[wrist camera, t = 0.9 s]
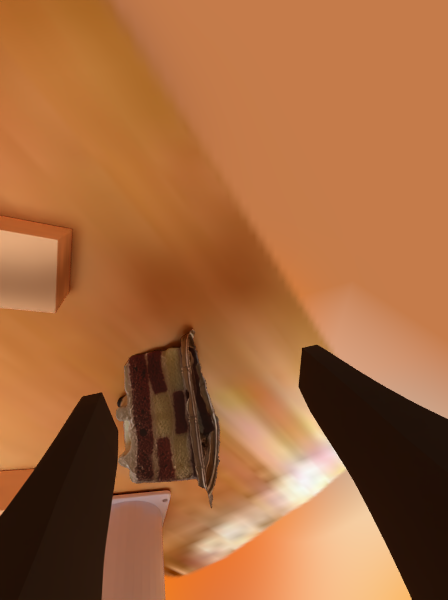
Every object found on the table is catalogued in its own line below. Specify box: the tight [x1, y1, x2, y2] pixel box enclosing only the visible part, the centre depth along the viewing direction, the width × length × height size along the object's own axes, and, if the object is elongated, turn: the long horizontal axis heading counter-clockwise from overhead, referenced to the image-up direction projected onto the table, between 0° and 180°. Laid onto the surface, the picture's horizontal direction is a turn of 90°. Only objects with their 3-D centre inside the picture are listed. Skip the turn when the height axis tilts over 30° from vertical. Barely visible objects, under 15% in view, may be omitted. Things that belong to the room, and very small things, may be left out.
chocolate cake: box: [116, 329, 220, 508], centre depth 22 cm, size 10×7×12 cm
